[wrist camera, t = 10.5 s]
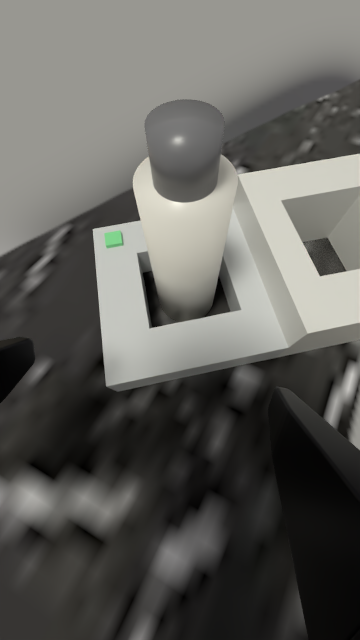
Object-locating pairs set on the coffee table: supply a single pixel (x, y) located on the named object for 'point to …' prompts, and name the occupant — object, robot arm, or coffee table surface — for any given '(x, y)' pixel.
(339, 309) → the jack housing
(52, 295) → the coffee table surface
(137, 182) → the plug
